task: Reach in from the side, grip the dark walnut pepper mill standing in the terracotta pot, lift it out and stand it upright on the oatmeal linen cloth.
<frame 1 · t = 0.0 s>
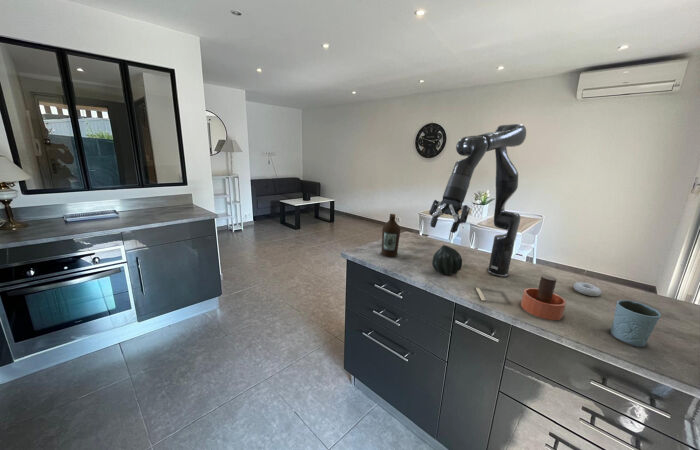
hand: (442, 229, 98), 31 cm above the worktop, tool tilted 20°, fingers open, 8 cm apart
pot: (540, 310, 105), on the worktop
blue embossed planter: (627, 339, 90), on the worktop
squash: (445, 272, 139), on the worktop
olive oil: (389, 254, 160), on the worktop
donut: (585, 292, 123), on the worktop
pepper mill: (540, 309, 105), resting on pot
cloth: (492, 296, 115), on the worktop
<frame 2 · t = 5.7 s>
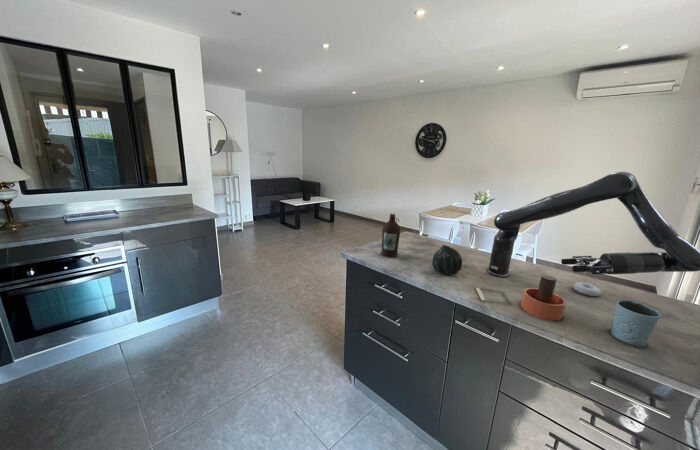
hand: (567, 265, 99), 20 cm above the worktop, tool horizontal, fingers open, 8 cm apart
nothing on the worktop moved.
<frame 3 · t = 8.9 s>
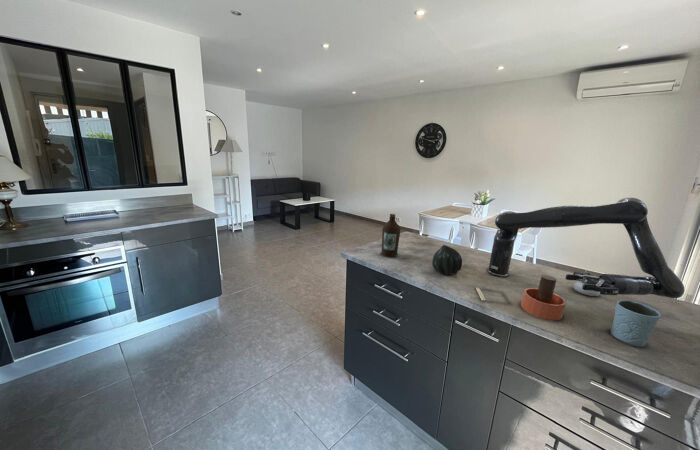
hand: (574, 281, 102), 13 cm above the worktop, tool horizontal, fingers open, 8 cm apart
nothing on the worktop moved.
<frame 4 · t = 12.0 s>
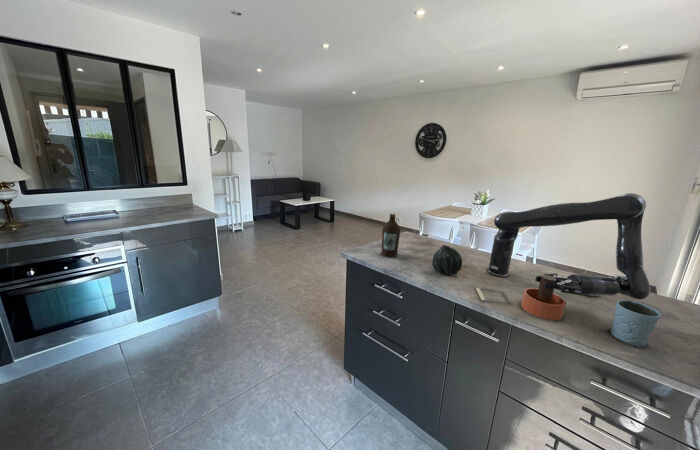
hand: (540, 281, 102), 13 cm above the worktop, tool horizontal, fingers closed on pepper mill, 5 cm apart
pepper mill: (540, 309, 105), point 1 cm above the worktop, touching gripper, pot
everything else where it was.
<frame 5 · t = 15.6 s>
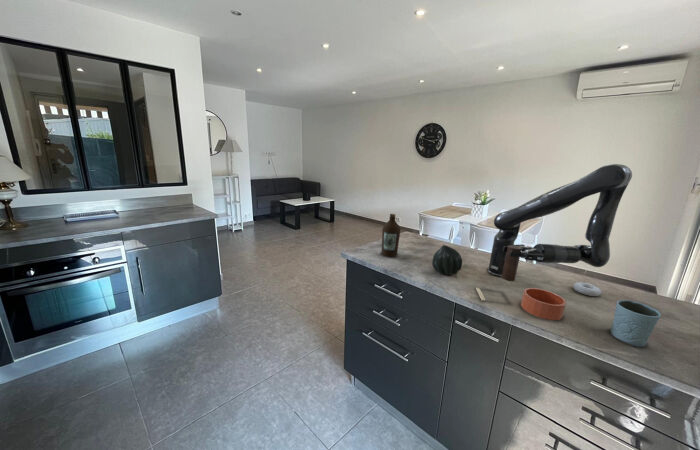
hand: (507, 251, 107), 22 cm above the worktop, tool horizontal, fingers closed on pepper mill, 5 cm apart
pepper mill: (508, 278, 110), point 10 cm above the worktop, touching gripper
everything else where it was.
when the fingers open (12 cm above the worktop, at t = 19.2 s): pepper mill stays where it is, resting on cloth.
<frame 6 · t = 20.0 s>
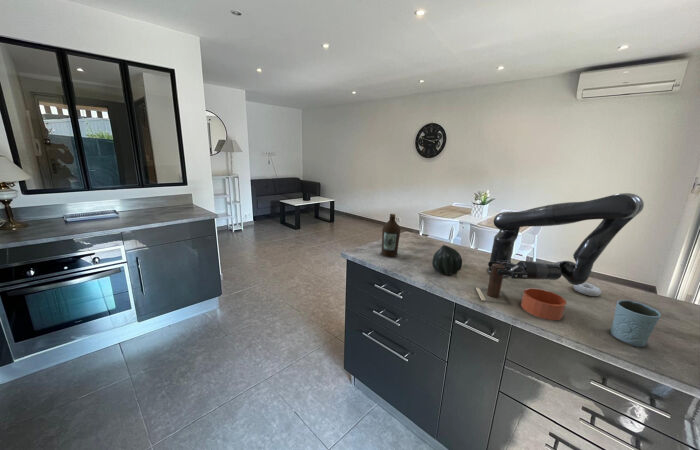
hand: (493, 267, 112), 13 cm above the worktop, tool horizontal, fingers open, 8 cm apart
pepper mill: (492, 295, 115), resting on cloth
everything else where it was.
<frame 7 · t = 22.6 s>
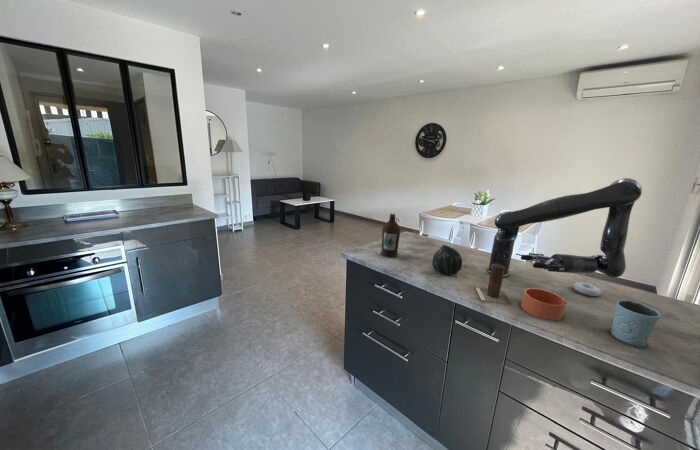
hand: (527, 260, 111), 17 cm above the worktop, tool horizontal, fingers open, 8 cm apart
nothing on the worktop moved.
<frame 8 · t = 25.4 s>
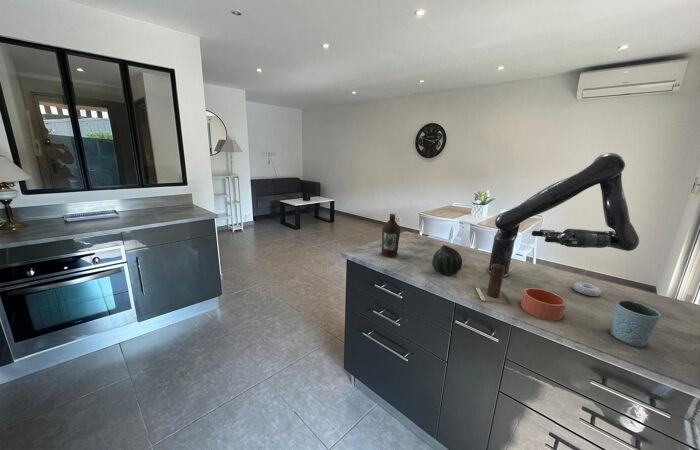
hand: (538, 236, 109), 28 cm above the worktop, tool horizontal, fingers open, 8 cm apart
nothing on the worktop moved.
at the end: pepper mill inside the target area (0.1 cm from its centre), resting on cloth; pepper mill tilted 0°; the gripper is holding nothing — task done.
